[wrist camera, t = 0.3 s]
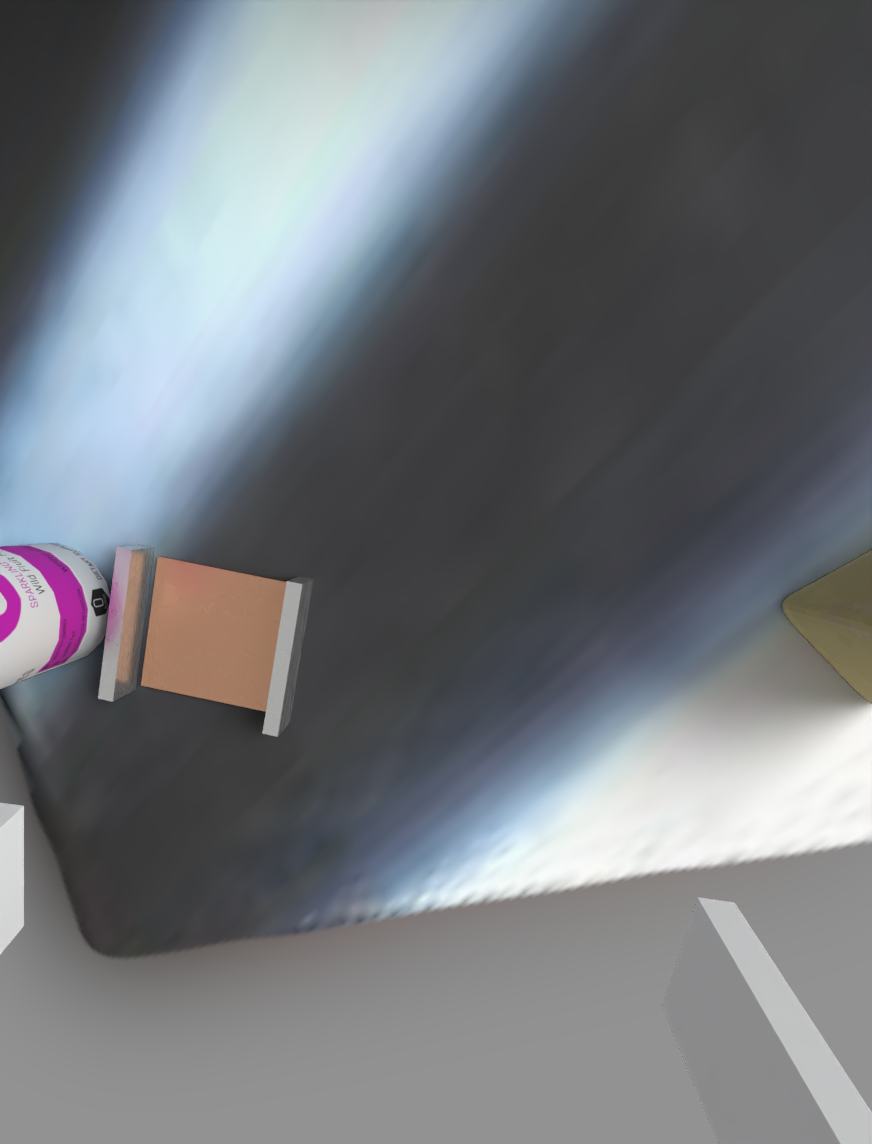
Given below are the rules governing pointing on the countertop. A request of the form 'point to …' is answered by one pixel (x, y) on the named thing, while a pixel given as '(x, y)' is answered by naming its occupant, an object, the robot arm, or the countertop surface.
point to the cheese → (839, 620)
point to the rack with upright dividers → (206, 634)
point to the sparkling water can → (48, 609)
